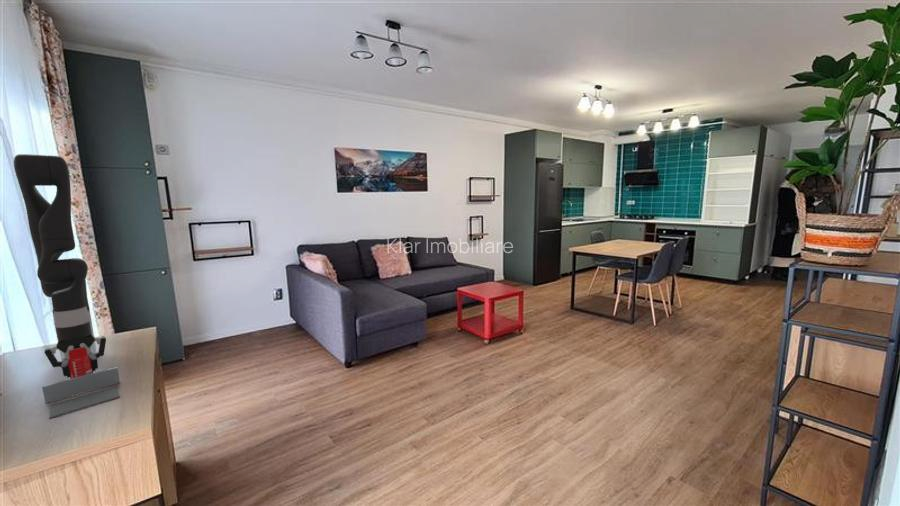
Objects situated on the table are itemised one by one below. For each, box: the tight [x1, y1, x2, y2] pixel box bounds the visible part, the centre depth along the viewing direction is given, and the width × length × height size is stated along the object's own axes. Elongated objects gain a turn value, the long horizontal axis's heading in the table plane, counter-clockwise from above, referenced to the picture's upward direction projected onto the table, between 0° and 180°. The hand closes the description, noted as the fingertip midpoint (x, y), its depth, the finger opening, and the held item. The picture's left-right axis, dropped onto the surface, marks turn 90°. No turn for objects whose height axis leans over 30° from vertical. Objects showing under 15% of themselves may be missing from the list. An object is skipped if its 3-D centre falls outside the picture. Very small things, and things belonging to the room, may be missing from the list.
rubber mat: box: [48, 385, 121, 419], centre depth 105 cm, size 9×14×1 cm, turn 137°
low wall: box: [41, 366, 121, 404], centre depth 110 cm, size 1×16×5 cm, turn 137°
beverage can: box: [68, 347, 94, 379], centre depth 115 cm, size 5×5×12 cm
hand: (81, 373), depth 116 cm, fingers closed on beverage can, 5 cm apart
